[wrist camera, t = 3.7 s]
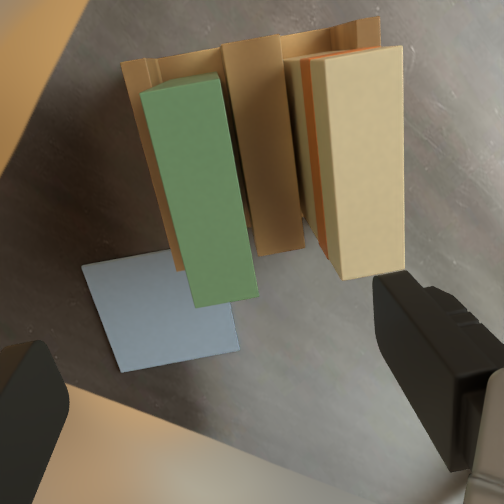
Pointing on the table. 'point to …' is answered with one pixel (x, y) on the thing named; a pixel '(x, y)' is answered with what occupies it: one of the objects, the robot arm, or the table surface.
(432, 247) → the table surface
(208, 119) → the green book
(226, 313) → the felt pad
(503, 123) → the table surface
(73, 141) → the table surface
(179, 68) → the book rack
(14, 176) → the table surface
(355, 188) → the cream book
